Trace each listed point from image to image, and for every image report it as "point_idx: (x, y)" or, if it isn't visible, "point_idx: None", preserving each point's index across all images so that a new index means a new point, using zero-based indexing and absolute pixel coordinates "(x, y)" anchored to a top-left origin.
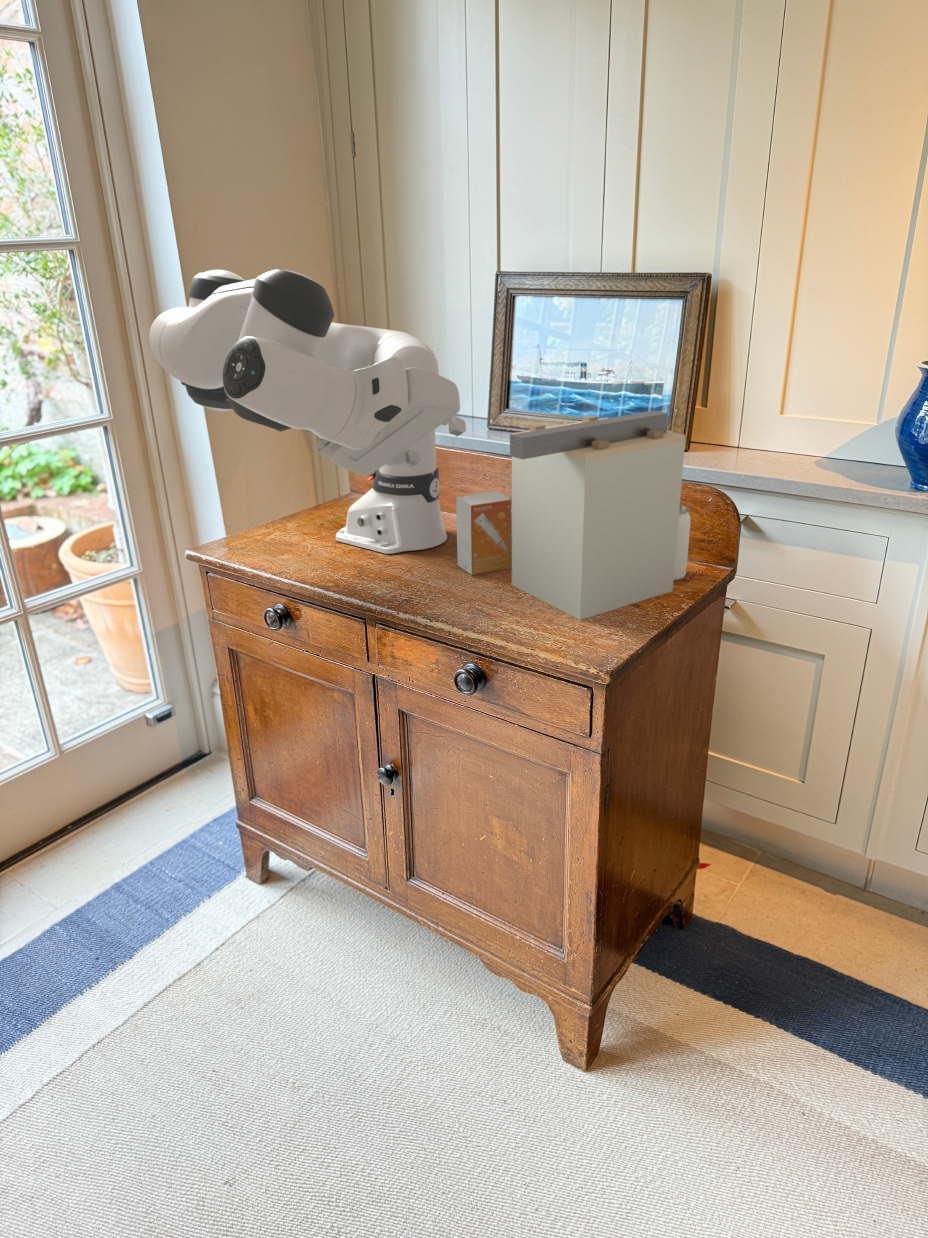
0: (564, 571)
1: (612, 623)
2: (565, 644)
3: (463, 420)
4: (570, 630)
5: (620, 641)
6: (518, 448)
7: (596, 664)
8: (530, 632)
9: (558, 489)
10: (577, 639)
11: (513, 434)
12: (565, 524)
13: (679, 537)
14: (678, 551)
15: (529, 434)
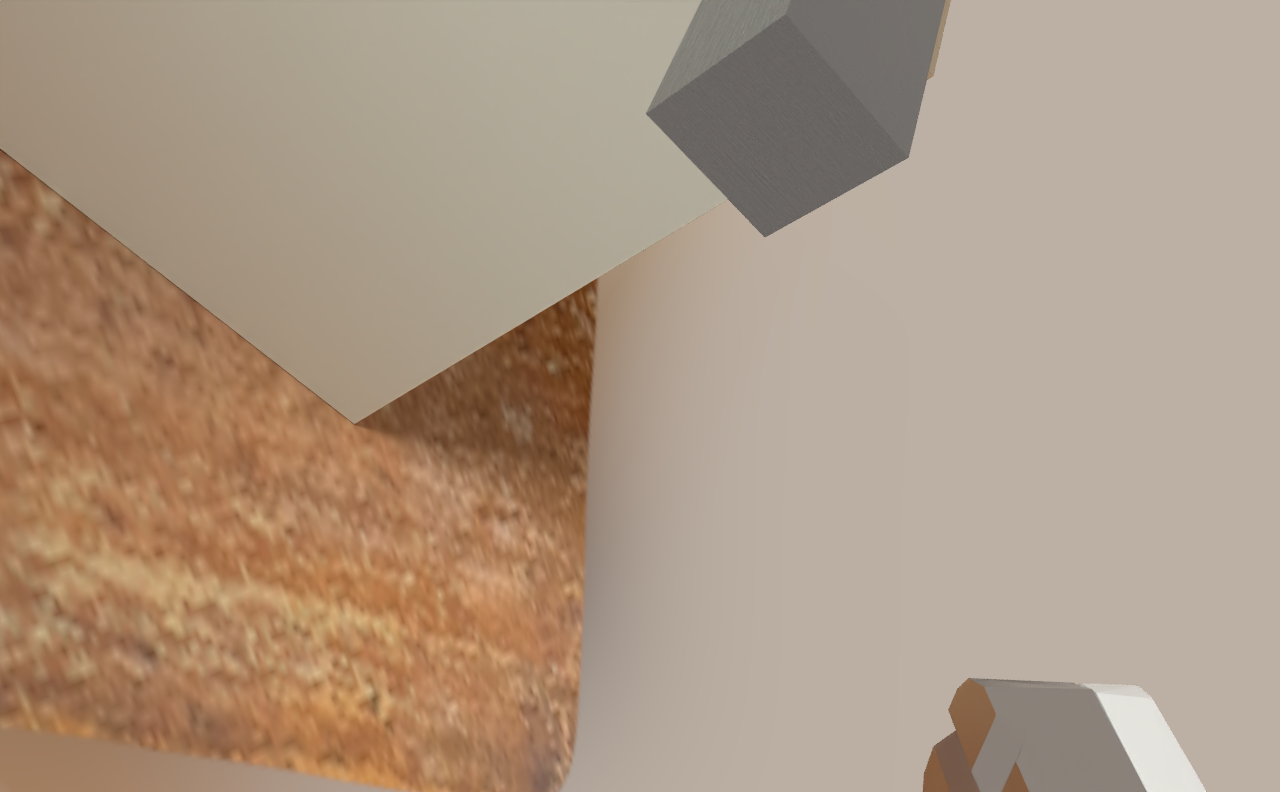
0: (363, 282)
1: (461, 421)
2: (381, 664)
3: (1139, 697)
4: (353, 529)
5: (529, 563)
6: (788, 161)
7: (527, 780)
8: (211, 605)
9: (568, 33)
10: (403, 601)
11: (801, 13)
12: (502, 177)
13: None
14: None
15: (879, 25)
